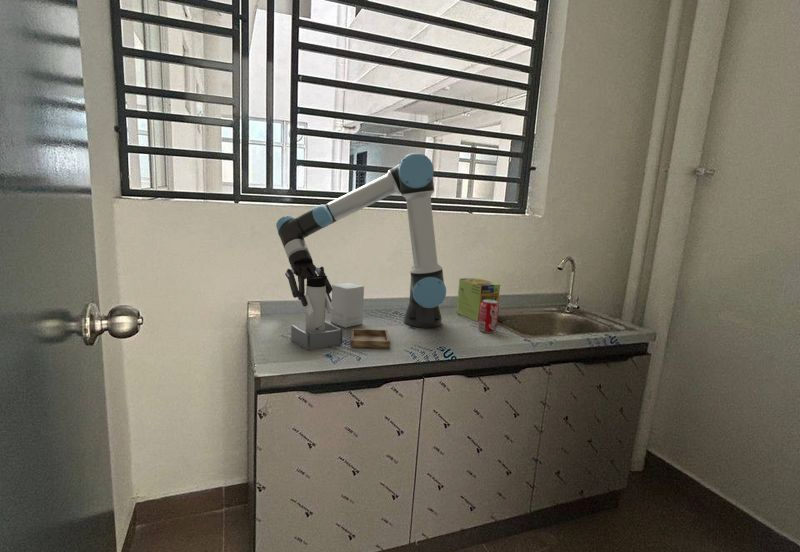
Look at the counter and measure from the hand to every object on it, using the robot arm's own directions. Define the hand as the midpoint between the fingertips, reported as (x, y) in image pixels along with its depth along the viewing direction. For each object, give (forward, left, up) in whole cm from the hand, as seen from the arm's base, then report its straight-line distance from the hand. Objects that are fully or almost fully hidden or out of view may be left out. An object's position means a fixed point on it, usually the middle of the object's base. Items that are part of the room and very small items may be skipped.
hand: (321, 312), depth 143 cm
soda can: (-62, -20, -11) cm, 66 cm away
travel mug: (+2, -3, -9) cm, 9 cm away
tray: (-16, -4, -11) cm, 20 cm away
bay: (+2, -3, -11) cm, 11 cm away
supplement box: (-8, -25, -11) cm, 29 cm away
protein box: (-64, -41, -11) cm, 77 cm away
